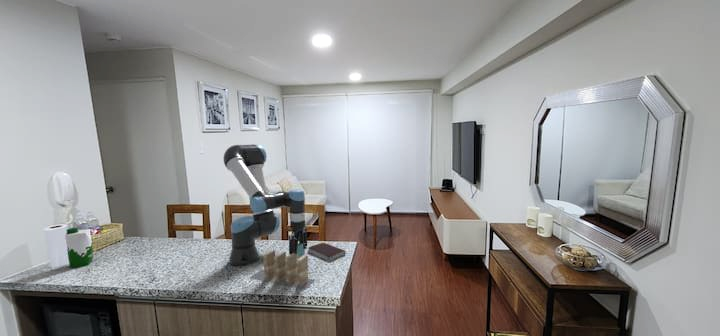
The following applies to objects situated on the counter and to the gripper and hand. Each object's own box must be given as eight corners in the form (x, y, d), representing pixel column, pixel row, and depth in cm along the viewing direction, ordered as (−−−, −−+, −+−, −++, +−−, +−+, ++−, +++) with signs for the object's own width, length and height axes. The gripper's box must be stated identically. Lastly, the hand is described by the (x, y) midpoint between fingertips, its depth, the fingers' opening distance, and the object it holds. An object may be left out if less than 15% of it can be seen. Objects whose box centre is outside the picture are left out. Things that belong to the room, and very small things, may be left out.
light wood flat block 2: (286, 283, 127) (285, 258, 126) (293, 277, 132) (292, 253, 131) (289, 284, 126) (288, 259, 125) (297, 278, 132) (296, 253, 130)
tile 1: (297, 285, 125) (296, 260, 124) (304, 279, 130) (303, 255, 129) (301, 286, 124) (300, 260, 123) (308, 280, 130) (307, 255, 128)
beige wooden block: (275, 281, 129) (274, 256, 128) (283, 275, 134) (282, 251, 133) (278, 282, 128) (277, 257, 127) (286, 276, 134) (285, 252, 133)
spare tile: (294, 269, 142) (293, 246, 140) (300, 264, 147) (300, 242, 146) (297, 270, 141) (296, 247, 140) (303, 265, 147) (303, 243, 145)
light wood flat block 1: (264, 279, 131) (263, 254, 130) (272, 273, 137) (271, 249, 135) (268, 279, 130) (267, 255, 129) (276, 274, 136) (275, 250, 135)
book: (323, 246, 173) (323, 241, 172) (345, 255, 160) (345, 249, 159) (307, 252, 164) (307, 247, 163) (329, 262, 151) (329, 256, 150)
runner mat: (248, 278, 132) (248, 277, 132) (261, 270, 141) (261, 269, 141) (305, 290, 122) (305, 289, 122) (315, 280, 130) (315, 279, 130)
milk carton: (73, 263, 151) (68, 227, 149) (95, 259, 156) (91, 224, 154) (66, 269, 144) (62, 231, 142) (90, 265, 148) (86, 228, 146)
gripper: (293, 226, 131) (294, 273, 134) (313, 215, 149) (314, 257, 151) (280, 224, 134) (281, 270, 136) (301, 214, 152) (302, 255, 154)
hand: (299, 263), depth 144 cm, fingers closed on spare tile, 6 cm apart
